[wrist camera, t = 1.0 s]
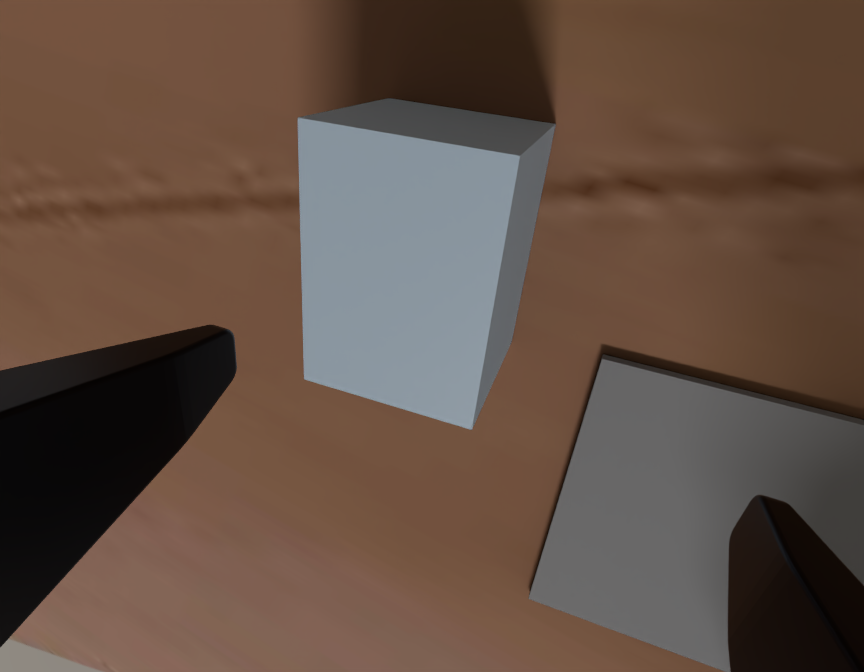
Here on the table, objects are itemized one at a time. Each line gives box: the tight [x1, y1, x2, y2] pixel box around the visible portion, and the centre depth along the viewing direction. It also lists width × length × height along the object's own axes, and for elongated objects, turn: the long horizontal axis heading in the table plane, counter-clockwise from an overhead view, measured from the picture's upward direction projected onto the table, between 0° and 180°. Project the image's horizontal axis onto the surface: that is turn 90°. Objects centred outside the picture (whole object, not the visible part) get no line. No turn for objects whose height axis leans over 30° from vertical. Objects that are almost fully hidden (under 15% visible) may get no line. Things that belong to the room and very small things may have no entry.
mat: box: [529, 354, 864, 672], centre depth 24 cm, size 16×16×1 cm
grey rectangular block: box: [298, 98, 556, 430], centre depth 19 cm, size 9×6×6 cm
